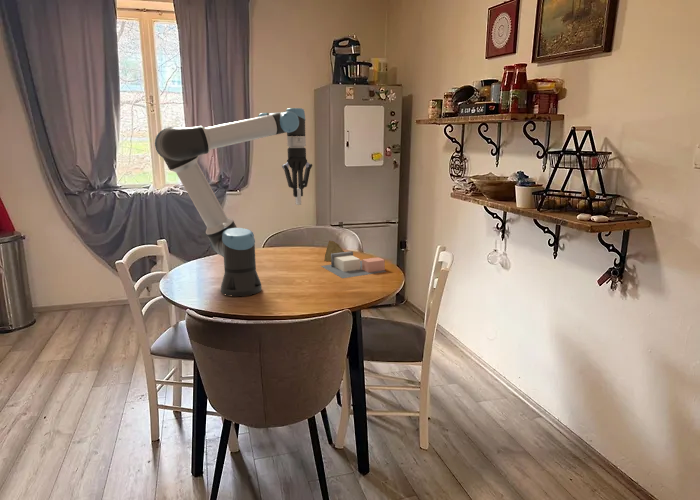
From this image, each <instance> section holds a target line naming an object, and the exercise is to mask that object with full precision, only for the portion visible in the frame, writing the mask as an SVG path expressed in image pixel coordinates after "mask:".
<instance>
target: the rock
mask: <svg viewBox="0 0 700 500" xmlns="http://www.w3.org/2000/svg"><path fill="white" fill-rule="evenodd" d="M325 250H326V251H325V255H324V262H331V254H332V253H341V252H345V251H344V250H343V249H342V247H341V245H340V244H339V243H337V242H336V241H333V240H329V241H328V244H327V246H326V249H325Z"/></svg>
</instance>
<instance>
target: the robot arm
mask: <svg viewBox="0 0 700 500" xmlns="http://www.w3.org/2000/svg"><path fill="white" fill-rule="evenodd" d="M282 134H286V140H287V143H286V144H287V145H286V146H287V147H288V148H287V160H286V163H284V164H282V165H281V168H282V169H283V170H284V175H285V178H286V182H287V185H288V187H289V188H291V189H292V191H293V192H292V193H293V194H292V195H293V197H294V198H295V205H296V206H297V205H298V206H299V205H302V197H304V188H307V187H308V183H309V180H310V179H309V177H310V173H311V169H312V167H313V164H312V163H310V162H308V158H307V149H306V146H307V145H306V140H307V139H306V114H305V109H304V108H301V107H300V108H299V107H292V108H291V107H289V108H286V111H278V112H260V113H259V114H258V116H256V117H252V118H247V119H242V120H238V121H237V120H236V121H233V122H227V123H221V124H217V125H213V126H207V127H204V126H202V125H198V126H190V127H180V126H176V127H174V126H168V127H166V128H163V129H161V130H160V131H159V132H158V133H157V135H156V136H155V140H154V147H155V150H156V153H157V154H158V155H159V156H160V157H161V158H162V159H163V161H164V162H165V164H166V166H167V167H168V170H170V171H172V172H174V173H175V174H176V175H177V177H178V179H179V181H180V182H181V184H182V186H183V187H184V189H185V190H186V192H187V194H188V196H189V198H190V199H191V201H192V203H193V205H194V207H195V208H196V211H197V212H198V214H199V215H200V218H201V220H202V221H203V223H204V224H205V226H206V230H205V234H206V236H207V237H208V239H209V245H210V246H211V248H212V250H213V251H214V252H215V253H216V254H217V255H220V256H221V257H222V258H223V267H224V273H223V277H222V282H221V285H220V292H222V293H223V294H226V295H232V296H242V297H246V296H245V295H249V296H253V295H252V294H254V295H257V294H258V293H261V292H262V283H261V279H260V277H259V275H258V272H257V263H256V244H255V243H256V239H255V235H254V234H255V233H254V232H253V230H250V229H249V228H244V227H237V224H235V221H234V220H233V218H231V217H228V216H227V214H226V212H225V211H224V209H223V207H222V205H221V203H220V202H219V200H218V197H217V196H216V194H215V192H214V191H213V189H212V186H211V184H210V183H209V181H208V180H207V178H206V176H205V174H204V172H203V170H202V169H201V167H200V165H199V163H198V160H199V157H200V156H202V155H206V154H209V153H210V151H211V150H214V149H218V148H223V147H228V146H231V145H237V144H240V143H241V144H242V143H245V142H249V141H250V142H251V141H253V140H258V139H264V138H268V137H272V136H278V135H282ZM289 168H290V169H291V173H290V169H289ZM304 168H305V170H304ZM222 293H221V294H222ZM256 293H257V294H256ZM223 294H222V295H223ZM226 295H225V296H226ZM232 296H231V297H232Z"/></svg>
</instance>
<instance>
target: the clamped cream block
mask: <svg viewBox="0 0 700 500" xmlns="http://www.w3.org/2000/svg"><path fill="white" fill-rule="evenodd" d="M360 261H361V259H360V258H358V257H357V256H354V252H353V251H352V250H349V251H344V252H341V253H332V254H331V261H330V265H331V267H336V268H338V269H340V270H342V271H350V270H357V269H360Z"/></svg>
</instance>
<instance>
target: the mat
mask: <svg viewBox="0 0 700 500" xmlns="http://www.w3.org/2000/svg"><path fill="white" fill-rule="evenodd" d="M320 267H321V268H323V269H325V270H327V271H328V272H331V273H332V274H334V275H336V276H337V277H339V278H341V279H348V278H354V277H355V278H356V277H361V276H368V275H372V274H373V275H374V274H380V273H387V271H386V270H382V271H375V272H369V273H368V272H366V271H364V270H362V260H360V269H357V270H350V271H342V270H340V269H338V268H336V267H331V264H326V265H320Z"/></svg>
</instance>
